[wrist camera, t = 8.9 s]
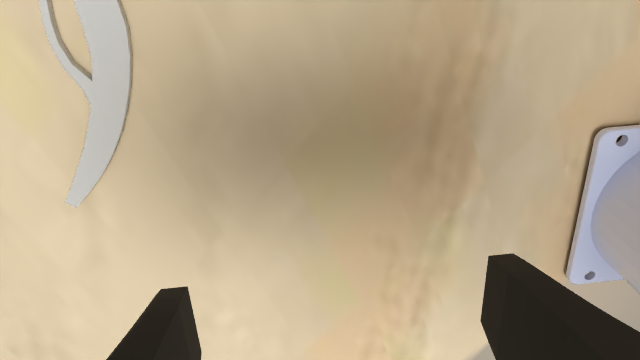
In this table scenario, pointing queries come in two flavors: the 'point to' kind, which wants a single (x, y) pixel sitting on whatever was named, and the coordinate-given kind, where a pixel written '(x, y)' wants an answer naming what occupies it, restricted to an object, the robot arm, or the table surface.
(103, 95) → the pliers
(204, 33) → the table surface
